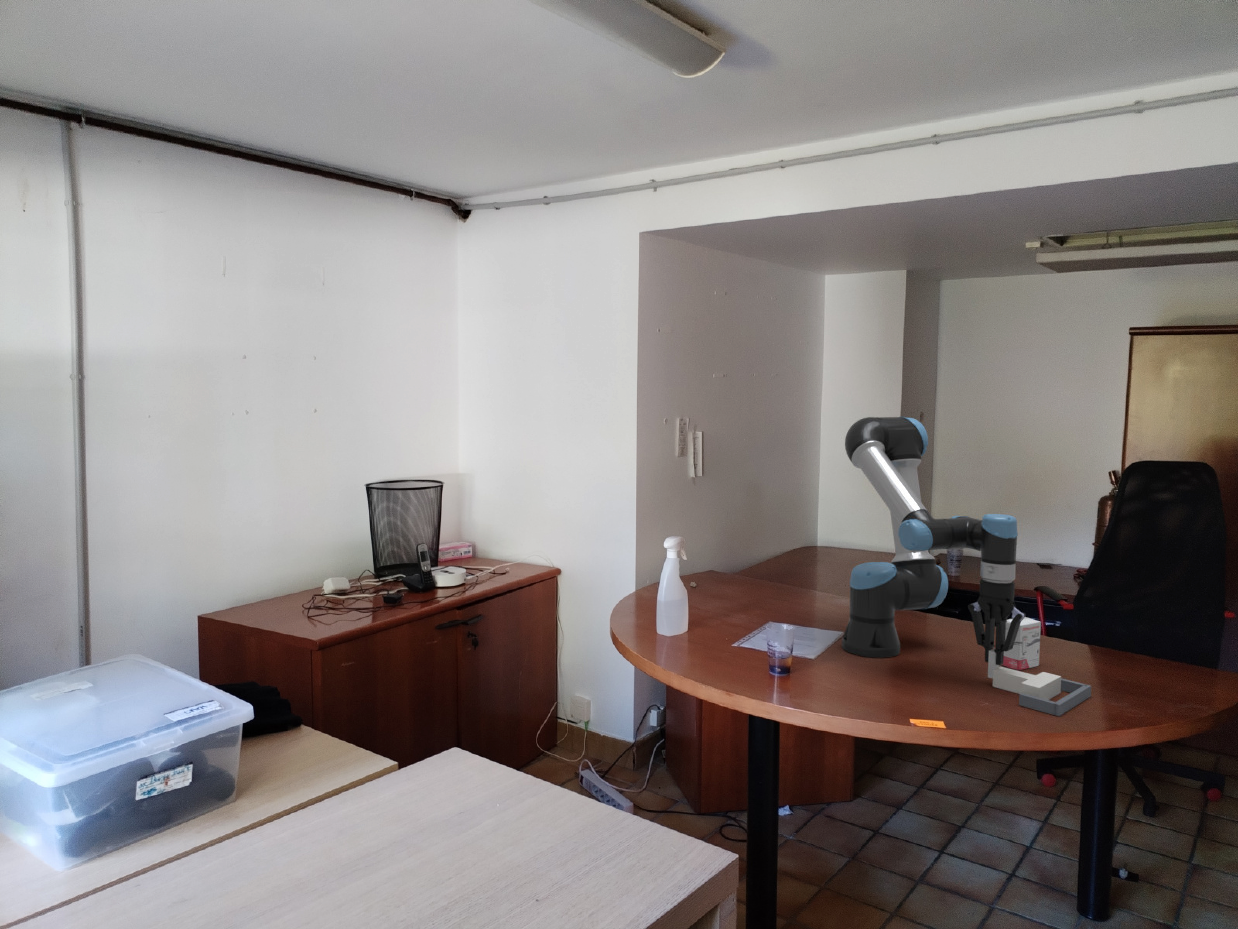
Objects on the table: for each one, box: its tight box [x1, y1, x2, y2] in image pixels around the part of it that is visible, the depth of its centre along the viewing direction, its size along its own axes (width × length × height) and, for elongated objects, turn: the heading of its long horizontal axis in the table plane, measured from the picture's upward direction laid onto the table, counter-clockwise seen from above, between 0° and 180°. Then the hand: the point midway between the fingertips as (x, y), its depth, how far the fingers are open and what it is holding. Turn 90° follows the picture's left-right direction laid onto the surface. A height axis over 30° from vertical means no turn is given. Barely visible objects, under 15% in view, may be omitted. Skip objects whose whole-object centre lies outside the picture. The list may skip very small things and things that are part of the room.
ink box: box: [1001, 616, 1042, 671], centre depth 202 cm, size 9×5×12 cm, turn 118°
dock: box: [1018, 677, 1092, 717], centre depth 178 cm, size 8×18×2 cm, turn 131°
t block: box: [992, 666, 1062, 700], centre depth 183 cm, size 12×12×4 cm
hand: (993, 676), depth 188 cm, fingers closed
